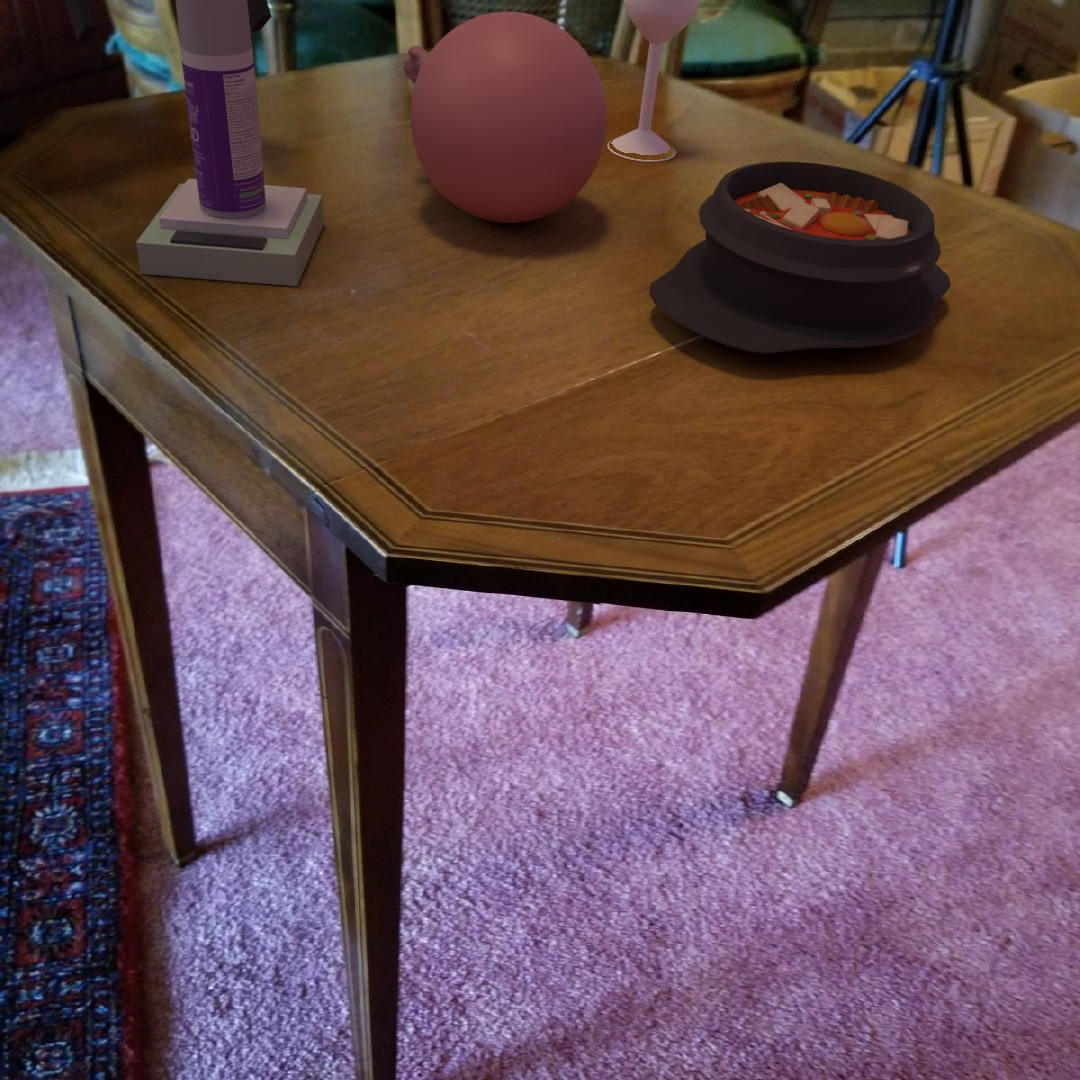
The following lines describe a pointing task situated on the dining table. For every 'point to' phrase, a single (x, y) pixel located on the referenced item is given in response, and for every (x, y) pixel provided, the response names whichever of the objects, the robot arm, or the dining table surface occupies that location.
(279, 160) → the dining table surface
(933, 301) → the casserole
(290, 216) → the scale
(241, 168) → the container
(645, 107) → the champagne flute
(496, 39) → the balloon
